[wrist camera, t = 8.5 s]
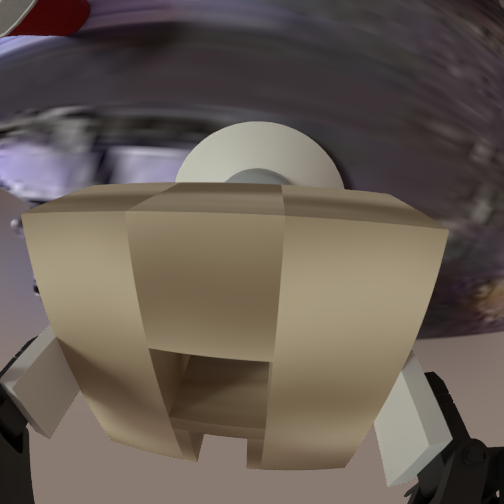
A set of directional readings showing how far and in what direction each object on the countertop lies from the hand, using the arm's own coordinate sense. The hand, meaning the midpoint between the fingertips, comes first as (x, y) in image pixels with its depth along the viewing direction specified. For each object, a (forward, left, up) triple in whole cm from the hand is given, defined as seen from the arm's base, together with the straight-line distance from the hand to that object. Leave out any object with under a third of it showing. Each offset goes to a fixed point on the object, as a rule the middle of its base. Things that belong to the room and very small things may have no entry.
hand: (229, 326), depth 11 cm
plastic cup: (+8, -36, -20) cm, 42 cm away
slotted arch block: (0, 0, 0) cm, 0 cm away
